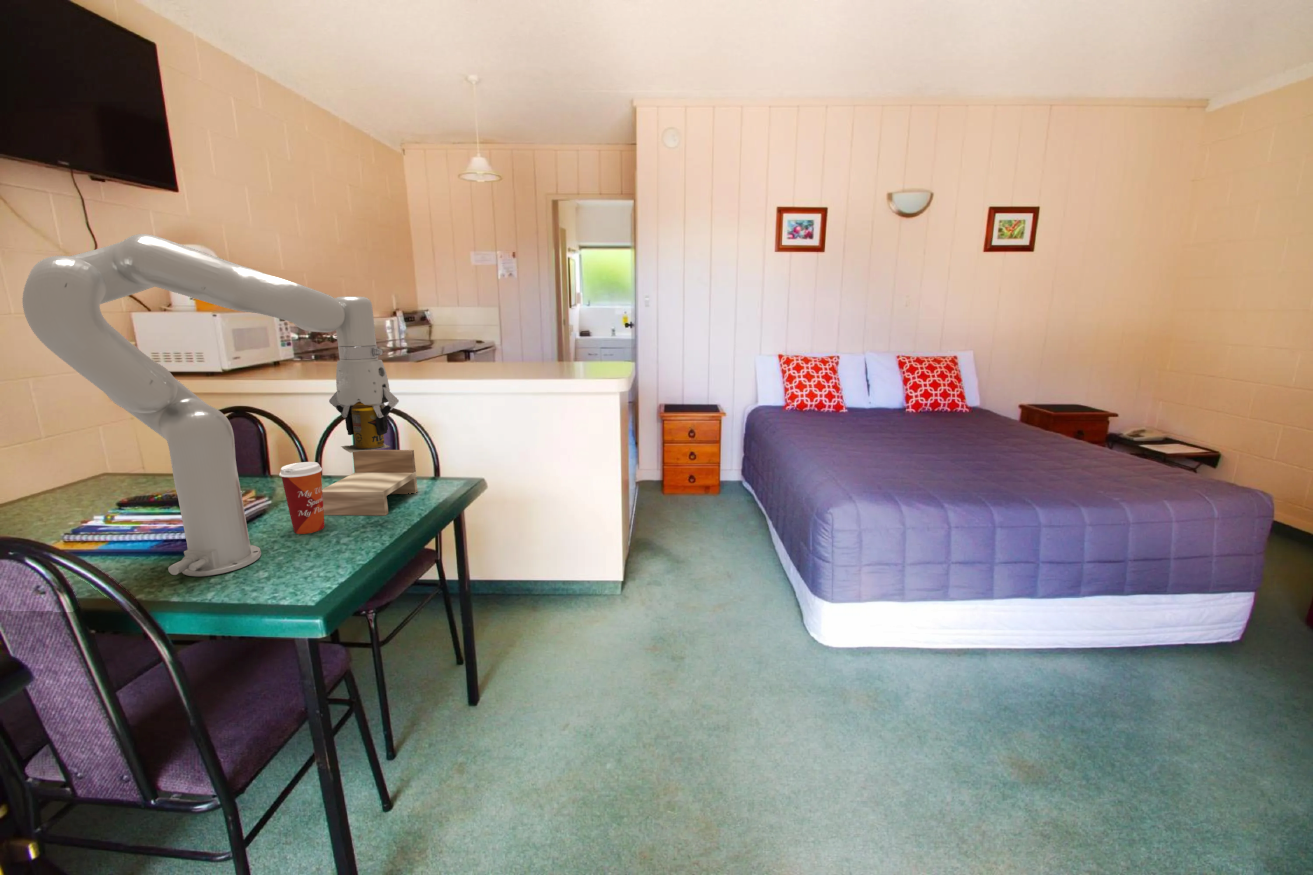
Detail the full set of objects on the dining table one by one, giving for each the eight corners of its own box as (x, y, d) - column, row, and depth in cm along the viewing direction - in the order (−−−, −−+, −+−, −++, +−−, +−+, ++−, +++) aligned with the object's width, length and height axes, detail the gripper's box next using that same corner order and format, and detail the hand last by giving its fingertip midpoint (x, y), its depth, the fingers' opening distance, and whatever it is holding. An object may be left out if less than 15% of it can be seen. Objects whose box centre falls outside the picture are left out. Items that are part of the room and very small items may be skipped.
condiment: (390, 447, 129) (385, 395, 126) (350, 453, 123) (344, 399, 120) (380, 442, 134) (375, 392, 131) (340, 447, 128) (334, 395, 126)
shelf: (385, 515, 137) (380, 468, 135) (320, 514, 138) (314, 467, 135) (417, 492, 155) (413, 449, 152) (360, 491, 155) (355, 449, 153)
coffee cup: (310, 537, 124) (301, 471, 121) (279, 534, 126) (268, 469, 122) (338, 523, 132) (330, 461, 129) (308, 521, 134) (299, 460, 130)
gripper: (405, 353, 127) (412, 431, 131) (331, 353, 128) (340, 430, 132) (387, 355, 120) (396, 438, 124) (309, 355, 121) (320, 437, 125)
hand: (367, 433), depth 128 cm, fingers closed on condiment, 6 cm apart
